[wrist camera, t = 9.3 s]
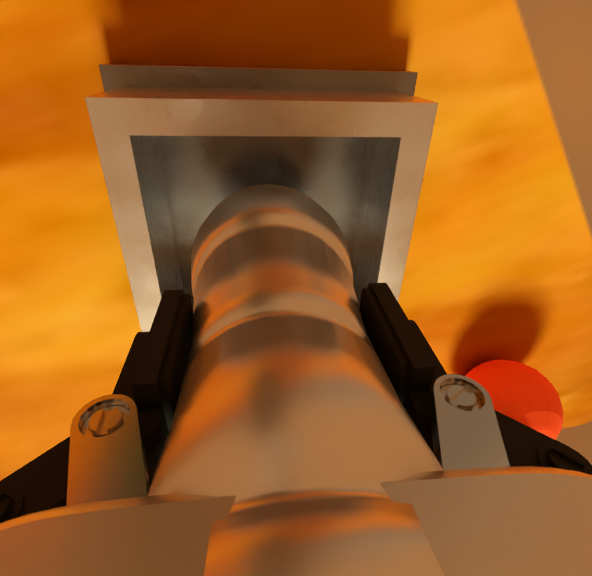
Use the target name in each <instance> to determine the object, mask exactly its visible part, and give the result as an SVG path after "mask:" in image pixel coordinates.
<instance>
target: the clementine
mask: <svg viewBox="0 0 592 576" xmlns="http://www.w3.org/2000/svg"><path fill="white" fill-rule="evenodd" d="M465 376H466V377H468V378H471V379H473V380H475V381H476V382H478V383H479V384H480V385H482V386H483V387H484V388H485V389H486V390H487V392H488V393H489V395H490V397H491V400H492V403H493V407H494V410H496V411H498V412H500V413H502V414H504V415H506V416H508V417H510V418H512V419H514V420H516V421H518V422H520V423H522V424H524V425H526V426H528V427H530V428H532V429H534V430H536V431H538V432H540V433H542V434H544V435H546V436H548V437H550V438H553V439H555V440H556V438H557V436H558V434H559V433H560V431H561V429H562V424H563V409H562V405H561V402H560V398H559V395H558V393H557V391H556V390H555V388H554V387H553V385H552V384H551V383H550V382H549V381H548V380H547V378H546V377H544V376H543V375H542V374H541V373H540V372H538V371H537V370H536V369H534V368H531V367H529V366H527V365H525V364H523V363H520V362H518V361H510V360H503V359H499V360H491V361H488V362H484V363H482V364H480V365H478V366H476V367H475V368H473V369H472V370H470V371H469V372H468V373H467V374H466V375H465Z"/></svg>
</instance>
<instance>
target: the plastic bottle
mask: <svg viewBox="0 0 592 576" xmlns="http://www.w3.org/2000/svg"><path fill="white" fill-rule="evenodd" d="M191 282H192V292H193V298H194V311H193V327H192V342H191V351H190V355H189V359H188V363H187V367H186V371H185V375H184V378H183V382H182V386H181V390H180V394H179V397H178V401H177V405H176V409H175V413H174V417H173V421H172V424H171V428H170V431H169V434H168V436H167V439H166V442H165V444H164V447H163V450H162V452H161V455H160V458H159V460H158V463H157V466H156V468H155V471H154V474H153V476H152V479H151V481H150V484H149V487H148V494H147V496H153V495H164V494H175V493H185V494H195V495H205V496H213V497H222V496H237V497H236V499H235V501H234V503H233V506H232V508H231V510H230V512H229V515H228V517H227V518H224V519H220V520H218V521H215V522H213V523H211V529H210V536H209V543H208V551H207V558H206V565H205V571H204V576H444V574H443V572H442V570H441V568H440V565H439V563H438V561H437V559H436V557H435V555H434V553H433V551H432V549H431V547H430V544H429V542H428V540H427V537H426V535H425V533H424V530H423V528H422V526H421V523H420V521H419V519H418V517H417V514H416V512H415V510H414V508H413V505H412V504H408V503H399V502H392V501H391V499H390V498H389V496H388V495H387V493H386V492H385V491H384V489H383V488H382V486H381V485H380V483H383V482H392V481H401V480H403V479H405V478H408V477H410V476H413V475H416V474H419V473H422V472H429V471H441V470H443V468H442V467H441V465H440V463H439V462H438V460H437V459H436V457H435V455H434V454H433V452H432V451H431V449H430V447H429V446H428V444H427V443H426V441H425V440H424V438H423V436H422V435H421V433H420V432H419V430H418V428H417V427H416V425H415V424H414V422H413V421H412V419H411V417H410V416H409V414H408V413H407V411H406V409H405V408H404V406H403V405H402V403H401V401H400V400H399V398H398V395H397V393H396V391H395V389H394V387H393V385H392V383H391V381H390V379H389V377H388V375H387V373H386V371H385V369H384V367H383V365H382V363H381V361H380V359H379V357H378V355H377V353H376V351H375V349H374V347H373V345H372V343H371V341H370V339H369V337H368V335H367V333H366V330H365V326H364V323H363V319H362V315H361V312H360V308H359V305H358V301H357V298H356V294H355V291H354V287H353V271H352V266H351V261H350V257H349V252H348V247H347V243H346V240H345V237H344V235H343V233H342V231H341V229H340V227H339V226H338V224H337V223H336V222H335V220H334V219H333V217H332V216H331V215H330V214H329V213H328V212H327V211H325V210H324V209H323V208H322V207H321V206H320V205H319V204H318V203H316V202H315V201H314V200H313V199H312V198H311V197H309V196H307V195H305V194H304V193H302V192H300V191H298V190H295V189H292V188H289V187H286V186H282V185H273V184H264V185H254V186H250V187H247V188H243V189H240V190H238V191H236V192H235V193H233V194H231V195H229V196H227V197H226V198H225V199H224V200H223V201H221V202H220V203H219V204H218V205H217V206H216V207H215V208H214V209H213V211H212V212H211V213H210V215H209V216H208V217H207V218H206V220H205V221H204V222H203V224H202V225H201V226H200V228H199V231H198V233H197V235H196V237H195V239H194V243H193V248H192V253H191Z"/></svg>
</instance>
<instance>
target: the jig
mask: <svg viewBox="0 0 592 576" xmlns="http://www.w3.org/2000/svg"><path fill="white" fill-rule="evenodd" d="M99 67H100V72H101V77H102V81H103V86H104V90H105V92H102V93H98V94H95V95H91V96H88V97H85V99H86V104H87V108H88V112H89V116H90V120H91V124H92V128H93V132H94V137H95V141H96V145H97V149H98V153H99V157H100V161H101V165H102V170H103V174H104V178H105V182H106V186H107V190H108V194H109V198H110V203H111V207H112V211H113V215H114V219H115V223H116V227H117V231H118V236H119V240H120V244H121V248H122V252H123V256H124V260H125V264H126V269H127V273H128V277H129V281H130V285H131V289H132V293H133V297H134V302H135V306H136V310H137V314H138V318H139V322H140V326H141V330H142V332H149V331H150V329H151V326H152V323H153V320H154V317H155V314H156V312H157V309H158V306H159V303H160V300H161V298H162V295H163V292H164V290H180V289H183V290H184V294H190V295H191V301H192V308H193V311H194V298H193V292H192V282H191V253H192V248H193V243H194V239H195V237H196V235H197V233H198V231H199V228H200V226H201V225H202V224H203V222H204V221H205V220H206V218H207V217H208V216H209V215H210V213H211V212H212V211H213V209H214V208H215V207H216V206H217V205H218V204H219V203H220V202H221V201H223V200H224V199H225V198H226V197H227V196H229V195H231V194H233V193H235V192H236V191H238V190H240V189H243V188H247V187H250V186H254V185H264V184H273V185H282V186H286V187H289V188H292V189H295V190H298V191H300V192H302V193H304V194H305V195H307V196H309V197H311V198H312V199H313V200H314V201H315V202H316V203H318V204H319V205H320V206H321V207H322V208H323V209H324V210H325V211H327V212H328V213H329V214H330V215H331V216H332V217H333V219H334V220H335V222H336V223H337V224H338V226H339V227H340V229H341V231H342V233H343V235H344V237H345V240H346V243H347V247H348V252H349V257H350V261H351V266H352V271H353V287H354V291H355V294H356V298H357V301H358V305H359V307H360V300H361V293H362V289H363V288H367V286H368V284H369V283H387V284H388V286H389V288H390V289H391V291H392V293H393V294H394V296H395V298H396V300H397V301H398V299H399V294H400V289H401V284H402V279H403V274H404V269H405V264H406V259H407V254H408V250H409V245H410V240H411V235H412V230H413V225H414V220H415V215H416V210H417V205H418V200H419V195H420V190H421V185H422V180H423V175H424V170H425V165H426V160H427V155H428V150H429V145H430V141H431V136H432V131H433V126H434V121H435V116H436V111H437V106H438V103H437V102H433V101H429V100H426V99H422V98H419V97H415V96H414V91H415V85H416V79H417V73H418V72H411V71H391V70H350V69H310V68H269V67H228V66H188V65H147V64H101V65H99Z"/></svg>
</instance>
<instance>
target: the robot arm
mask: <svg viewBox="0 0 592 576" xmlns="http://www.w3.org/2000/svg"><path fill="white" fill-rule="evenodd" d="M359 308H360V312H361V315H362V319H363V323H364V326H365V330H366V333H367V335H368V337H369V339H370V341H371V343H372V345H373V347H374V349H375V351H376V353H377V355H378V357H379V359H380V361H381V363H382V365H383V367H384V369H385V371H386V373H387V375H388V377H389V379H390V381H391V383H392V385H393V387H394V389H395V391H396V393H397V395H398V398H399V400H400V401H401V403H402V405H403V406H404V408H405V409H406V411H407V413H408V414H409V416H410V417H411V419H412V421H413V422H414V424H415V425H416V427H417V428H418V430H419V432H420V433H421V435H422V436H423V438H424V440H425V441H426V443H427V444H428V446H429V447H430V449H431V451H432V452H433V454H434V455H435V457H436V459H437V460H438V462H439V463H440V465H441V467H442V468H443V470H441V471H429V472H422V473H419V474H416V475H413V476H410V477H408V478H405V479H403V480H401V481H392V482H383V483H380V485H381V486H382V488H383V489H384V491H385V492H386V493H387V495H388V496H389V498H390V499H391V501H392V502H399V503H408V504H412V505H413V508H414V510H415V512H416V514H417V517H418V519H419V521H420V523H421V526H422V528H423V530H424V533H425V535H426V537H427V540H428V542H429V544H430V547H431V549H432V551H433V553H434V555H435V557H436V559H437V561H438V563H439V565H440V568H441V570H442V572H443V574H444V576H592V465H591V464H590V463H589V462H588V460H586V459H585V458H584V457H583V456H582V455H581V454H579V453H578V452H577V451H575V450H573V449H572V448H570V447H569V446H566V445H565V444H563V443H560V442H559V441H557V440H555V439H553V438H550V437H548V436H546V435H544V434H542V433H540V432H538V431H536V430H534V429H532V428H530V427H528V426H526V425H524V424H522V423H520V422H518V421H516V420H514V419H512V418H510V417H508V416H506V415H504V414H502V413H500V412H498V411H496V410H494V407H493V403H492V400H491V397H490V395H489V393H488V392H487V390H486V389H485V388H484V387H483V386H482V385H480V384H479V383H478V382H476V381H475V380H473V379H471V378H468V377H466V376H462V375H458V374H447V373H446V372H445V370H444V368H443V367H442V365H441V364H440V362H439V360H438V359H437V357H436V355H435V354H434V352H433V350H432V349H431V347H430V345H429V344H428V342H427V340H426V339H425V337H424V336H423V334H422V332H421V331H420V329H419V327H418V326H417V324H416V323H415V322H414V321H413V320H408V318H407V317H406V315H405V313H404V312H403V310H402V308H401V306H400V305H399V303H398V301H397V300H396V298H395V296H394V294H393V293H392V291H391V289H390V288H389V286H388V284H387V283H369V284H368V286H367V288H363V289H362V293H361V300H360V307H359ZM192 327H193V308H192V301H191V295H190V294H184V290H183V289H180V290H164V292H163V295H162V298H161V300H160V303H159V306H158V309H157V312H156V314H155V317H154V320H153V323H152V326H151V329H150V331H149V332H138V333H137V334H136V336H135V338H134V341H133V343H132V346H131V349H130V351H129V354H128V356H127V359H126V361H125V364H124V366H123V369H122V371H121V374H120V376H119V379H118V381H117V384H116V386H115V389H114V391H113V394H111V395H105V396H102V397H99V398H97V399H94V400H92V401H91V402H89V403H87V404H86V405H85V406H83V407H82V408H81V409H80V410H79V411H78V412H77V414H76V415H75V417H74V418H73V420H72V424H71V430H70V437H68V438H67V439H65V440H64V441H62V442H60V443H59V444H57V445H56V446H54V447H53V448H51V449H50V450H48V451H46V452H45V453H43V454H42V455H40V456H39V457H37V458H36V459H34V460H32V461H31V462H29V463H28V464H26V465H25V466H23V467H22V468H20V469H18V470H17V471H15V472H14V473H12V474H11V475H9V476H8V477H6V478H4V479H3V480H1V481H0V576H204V571H205V565H206V558H207V551H208V543H209V536H210V529H211V523H213V522H215V521H218V520H220V519H224V518H227V517H228V515H229V512H230V510H231V508H232V506H233V503H234V501H235V499H236V497H237V496H222V497H213V496H205V495H195V494H185V493H175V494H164V495H153V496H147V494H148V487H149V484H150V481H151V479H152V476H153V474H154V471H155V468H156V466H157V463H158V460H159V458H160V455H161V452H162V450H163V447H164V444H165V442H166V439H167V436H168V434H169V431H170V428H171V424H172V421H173V417H174V413H175V409H176V405H177V401H178V397H179V394H180V390H181V386H182V382H183V378H184V375H185V371H186V367H187V363H188V359H189V355H190V351H191V342H192Z"/></svg>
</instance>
